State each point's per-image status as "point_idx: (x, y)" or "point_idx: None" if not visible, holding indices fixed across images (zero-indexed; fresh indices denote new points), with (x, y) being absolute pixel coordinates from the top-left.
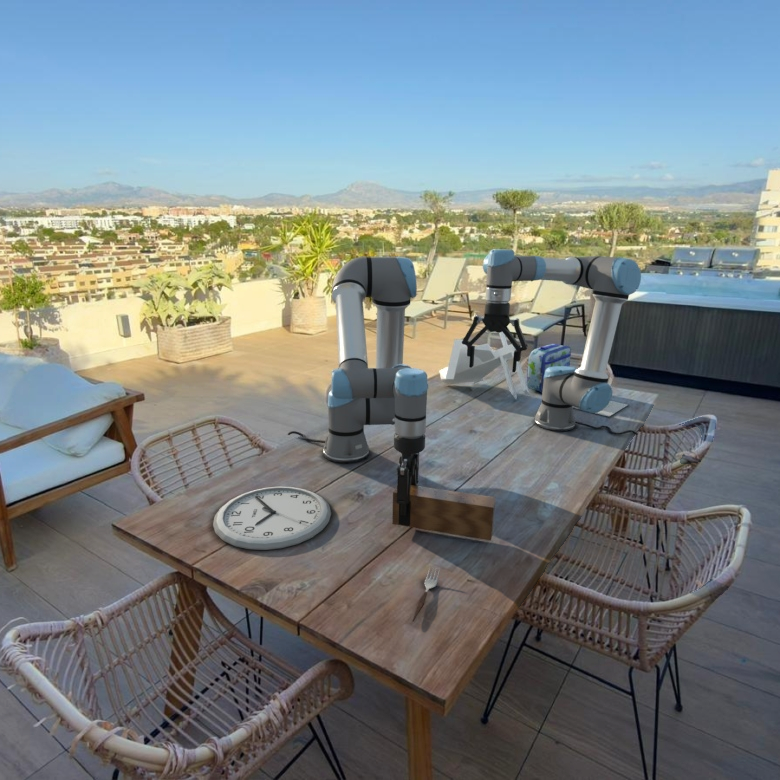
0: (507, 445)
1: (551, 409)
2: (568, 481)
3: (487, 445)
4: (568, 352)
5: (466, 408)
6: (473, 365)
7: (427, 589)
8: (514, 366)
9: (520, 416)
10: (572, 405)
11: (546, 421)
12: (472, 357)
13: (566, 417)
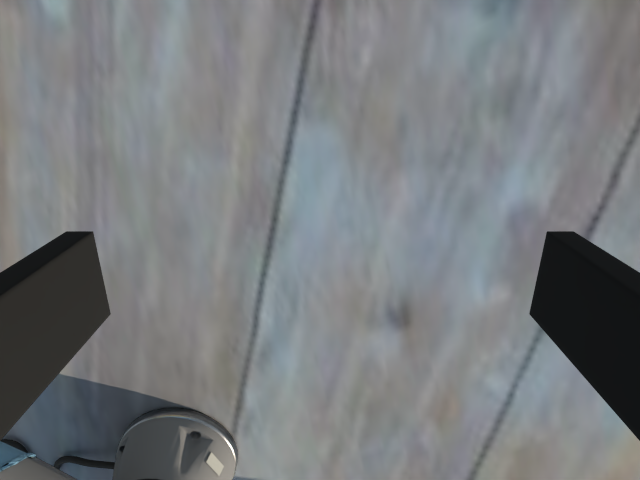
0: (272, 253)
1: (165, 472)
2: (21, 49)
3: (332, 228)
4: None
5: (449, 473)
6: (530, 313)
7: None
8: (30, 258)
9: (284, 470)
10: (70, 476)
11: (191, 436)
12: (619, 299)
13: (125, 456)
